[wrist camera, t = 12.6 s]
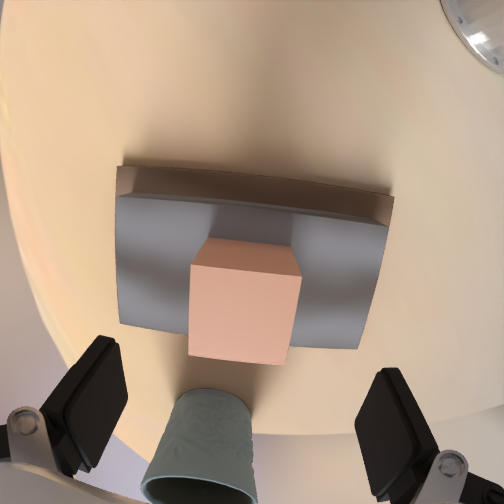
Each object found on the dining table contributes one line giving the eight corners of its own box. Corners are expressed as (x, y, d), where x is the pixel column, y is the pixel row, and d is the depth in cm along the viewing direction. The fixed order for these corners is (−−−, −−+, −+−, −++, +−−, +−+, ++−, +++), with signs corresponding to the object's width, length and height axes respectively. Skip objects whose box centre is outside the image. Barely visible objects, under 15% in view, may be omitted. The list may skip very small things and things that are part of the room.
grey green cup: (184, 440, 32) (166, 519, 20) (154, 383, 29) (118, 471, 17) (265, 435, 31) (266, 521, 19) (247, 375, 28) (243, 476, 17)
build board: (122, 165, 23) (99, 167, 19) (389, 195, 23) (411, 202, 19) (123, 318, 27) (106, 340, 23) (354, 343, 27) (366, 368, 23)
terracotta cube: (207, 237, 20) (190, 264, 15) (290, 246, 20) (302, 276, 15) (203, 311, 22) (188, 354, 16) (278, 319, 22) (284, 365, 16)
